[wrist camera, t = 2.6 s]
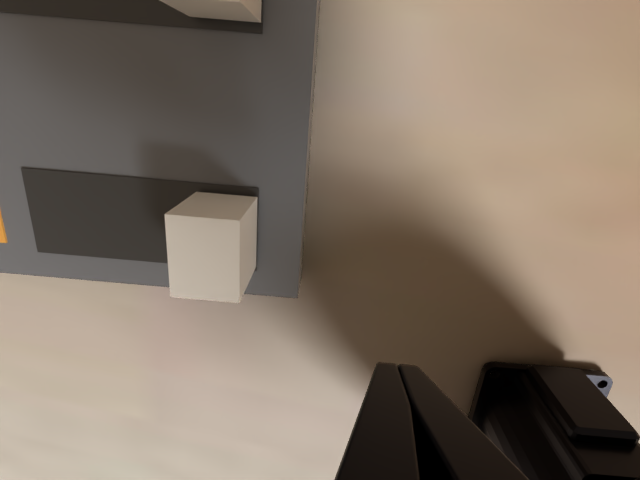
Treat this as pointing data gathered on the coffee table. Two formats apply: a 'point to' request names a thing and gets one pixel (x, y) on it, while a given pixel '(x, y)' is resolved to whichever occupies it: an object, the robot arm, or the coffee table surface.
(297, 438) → the coffee table surface
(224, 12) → the tab middle
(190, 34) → the switch plate
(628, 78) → the coffee table surface
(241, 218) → the tab
